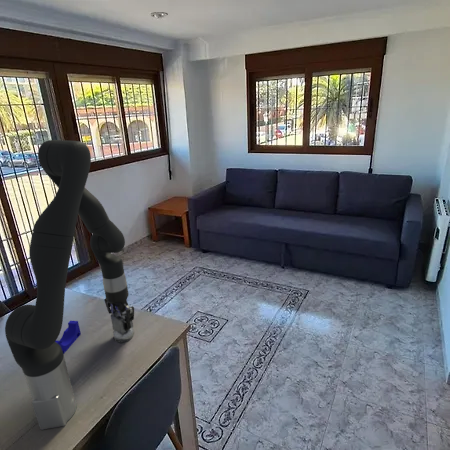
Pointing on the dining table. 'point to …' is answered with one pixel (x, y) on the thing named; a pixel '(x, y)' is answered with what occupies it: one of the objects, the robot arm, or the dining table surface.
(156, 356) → the dining table surface
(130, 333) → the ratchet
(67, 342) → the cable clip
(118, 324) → the grey paneled cube
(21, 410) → the dining table surface
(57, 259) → the robot arm
